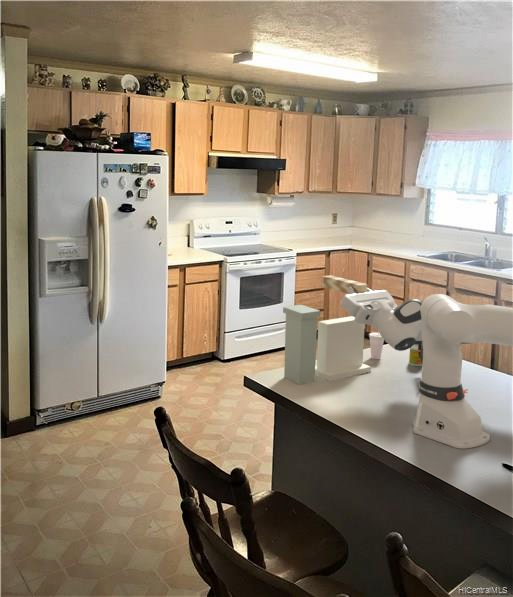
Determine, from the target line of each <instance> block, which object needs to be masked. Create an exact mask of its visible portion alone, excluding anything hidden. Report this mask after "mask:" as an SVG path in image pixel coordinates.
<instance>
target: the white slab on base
mask: <svg viewBox="0 0 513 597" xmlns="http://www.w3.org/2000/svg"><path fill="white" fill-rule="evenodd" d="M354 319H355V317H353V316H351V315H350V316H346V317H337V318H331V319H324V320H320V321H318V320H317V347H316V364H315V376H317V377H320V378H321V379H323V380H326V381H328V382H332V381H335V380H340V379H345V378H350V377H353V376H358V374H359V375H363V374H367V373H366V372H368V373H371V371H372V367H371V366H369V365H367V364H365V363H364V362H363V361H364V346H365V345H364V343H365V342H364V341H365V328H366V327H365V326H366V324H361V323H357V322H355V320H354ZM362 373H363V374H362Z"/></svg>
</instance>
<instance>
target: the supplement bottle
mask: <svg viewBox="0 0 513 597" xmlns="http://www.w3.org/2000/svg"><path fill="white" fill-rule="evenodd" d="M408 363H409V365H411V366H414V367H422V363H421V360H420V358H419V354H418V344H414V345H413V346H412V347H411V348H409V357H408Z"/></svg>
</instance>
